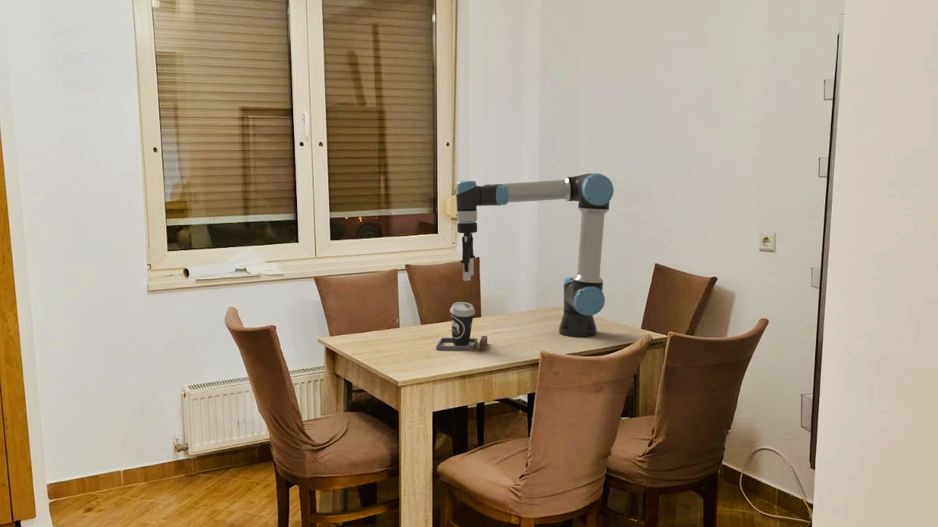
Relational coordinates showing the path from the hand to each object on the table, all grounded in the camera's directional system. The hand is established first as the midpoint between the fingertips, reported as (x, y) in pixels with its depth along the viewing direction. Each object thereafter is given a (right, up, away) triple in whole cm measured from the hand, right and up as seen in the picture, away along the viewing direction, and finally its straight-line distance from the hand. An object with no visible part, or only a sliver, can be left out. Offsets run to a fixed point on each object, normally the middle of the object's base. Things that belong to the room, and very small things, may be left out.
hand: (468, 277), depth 296 cm
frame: (-4, -26, -1) cm, 26 cm away
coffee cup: (-3, -25, +2) cm, 25 cm away
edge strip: (+6, -26, -3) cm, 27 cm away
